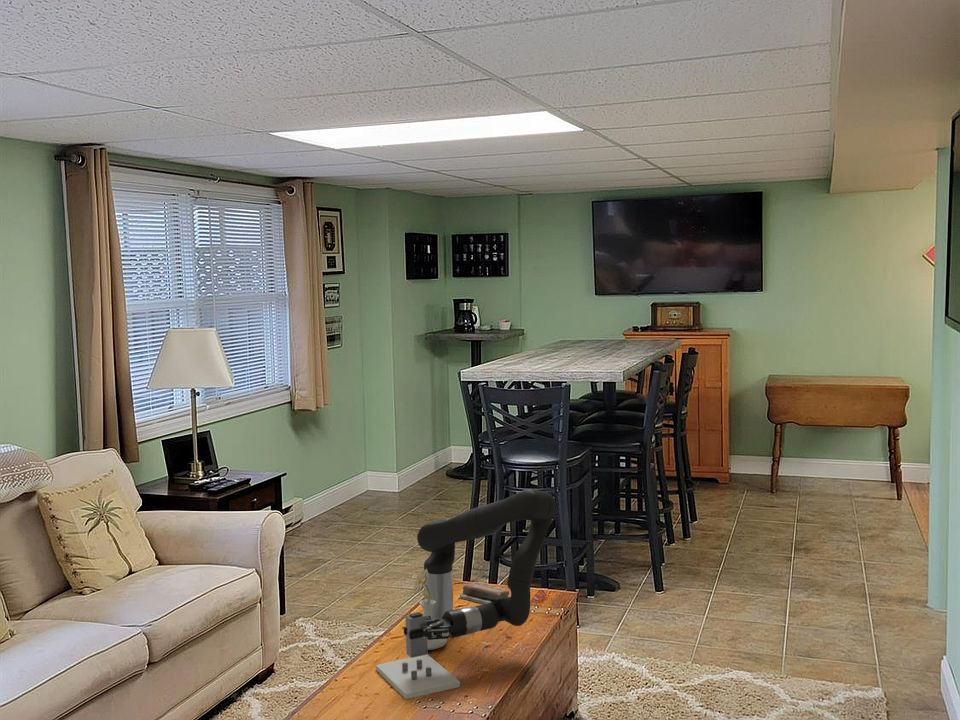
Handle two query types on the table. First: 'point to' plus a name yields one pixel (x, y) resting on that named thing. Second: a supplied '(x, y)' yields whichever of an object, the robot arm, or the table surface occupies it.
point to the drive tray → (417, 676)
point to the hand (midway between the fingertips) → (407, 633)
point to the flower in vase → (427, 605)
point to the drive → (420, 644)
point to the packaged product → (482, 593)
